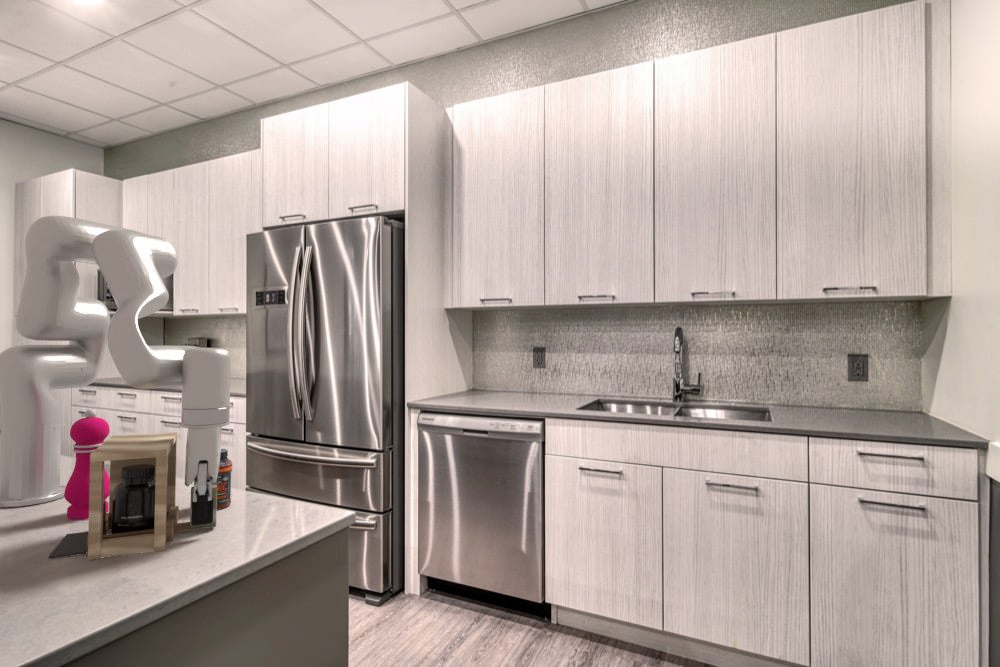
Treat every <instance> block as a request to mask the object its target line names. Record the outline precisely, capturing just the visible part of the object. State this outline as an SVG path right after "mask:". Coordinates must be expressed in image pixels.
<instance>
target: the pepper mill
mask: <svg viewBox="0 0 1000 667" xmlns="http://www.w3.org/2000/svg"><path fill="white" fill-rule="evenodd" d="M84 416H85V417H84V418H80V419H78V420H76V421H75V422H73V424H72V425H71V428H70V430H69V435H70V436H69V437H70V439H72V441H73V442H74V444H73V445H72V447H73V450H72V452H73V453H75V464H74V468H73V471H72V472H71V476H70V477H69V479H68V481H67V482H66V485H65V486H66V488H65V493H64V497H63V498H64V499H65V501H66V502H68V504H70V505H69V506H68V507H67V508H66V510H67V511H66V517H67V519H68V520H73V519H81V520H89V519H88V518H89V489H90V454H91V453H92V452H93V451H95V450H96V449H97V448H98V447H99V446H101V445H102V444H103V443H104V442H105V441H106V439H107V437H108V436H109V435H110V433H111V432H110V429H111V428H110V425H109V422H108V421H107V420H105V419H104V418H101V417H98V416H97V411H96V410H95V409H93V408H89V409H87V410H86V411H85V412H84ZM109 495H110V474H108V472H107V469H106V466H104V495H103V501H106V513H109V501H108V500H107V499H108V497H109Z"/></svg>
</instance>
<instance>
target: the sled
mask: <svg viewBox="0 0 1000 667" xmlns="http://www.w3.org/2000/svg"><path fill="white" fill-rule="evenodd" d="M190 488H191V489H190V505H189V506H190V507H189V508H190V509H189V510H190V511H189V521H184V522H179V513H180V512H179V510H180V509H179V507H180V506H179V505H176V506H173V507H171V508H170V510H167V523H166V543H167V542H168V543H170V542H172V541H173V539H174V535H175V532H176V533H177V532H182V531H183V532H184V531H190V530H200V529H207V528H216V527H217V484H216V485H212V499H213V522H212V523H210V524H202V525H192V524H191V519H192V501H193V495H194V486H191V487H190ZM206 488H208V489H209V487H206ZM106 501H107V500H105V501H103V537H102V540H104V539H112V538H121V537H129V536H137V535H145V534H153V533H154V529H150V530H142V531H133V532H125V533H116V534H111V533H109V531H110V530H111V524H112V516H111V513H109V512H107V513H106ZM108 533H109V534H108ZM86 552H87V553H88V535H87V536H86Z"/></svg>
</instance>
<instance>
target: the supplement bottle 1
mask: <svg viewBox="0 0 1000 667" xmlns="http://www.w3.org/2000/svg"><path fill="white" fill-rule="evenodd" d="M154 477H155V466H154V465H152V464H137V465H130V466H126V467H123V468H122V470H121V477H120V479H121V480H122V483H120V484H119V485H117V486H116V487H115V489H114V490H113V502H112V524H111V529H110V530H111V531H110V534H116V533H125V532H133V531H142V530H150V529H154V521H155V480H154V479H153V478H154Z"/></svg>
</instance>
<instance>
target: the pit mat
mask: <svg viewBox="0 0 1000 667" xmlns="http://www.w3.org/2000/svg"><path fill="white" fill-rule="evenodd" d="M87 535H88V531H82V532H75V533H74V532H72V533H67V534H66V535H65V536H64V537H63V538H62V539H61V540H60V542H58V543H57V545H56V546H55V547H54V549H52V551H51V552H50V554H48V558H52V559H57V558H56V557H60V558H64V557H63V556H67V557H72V556H71V555H75V556H78V555H77V554H83V555H86V554H87V553H86V536H87ZM48 558H47V559H48Z"/></svg>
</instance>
